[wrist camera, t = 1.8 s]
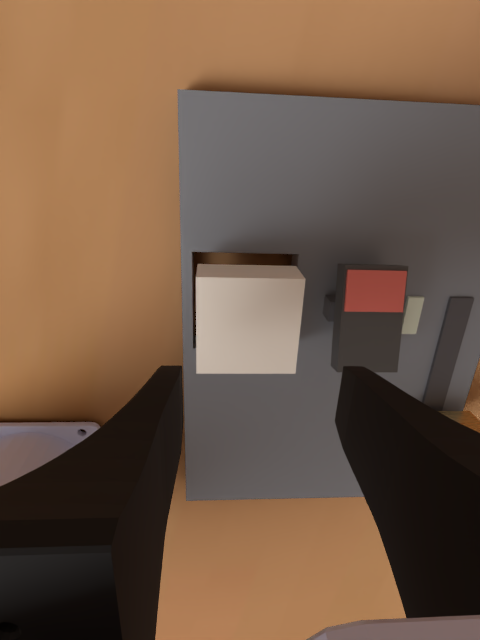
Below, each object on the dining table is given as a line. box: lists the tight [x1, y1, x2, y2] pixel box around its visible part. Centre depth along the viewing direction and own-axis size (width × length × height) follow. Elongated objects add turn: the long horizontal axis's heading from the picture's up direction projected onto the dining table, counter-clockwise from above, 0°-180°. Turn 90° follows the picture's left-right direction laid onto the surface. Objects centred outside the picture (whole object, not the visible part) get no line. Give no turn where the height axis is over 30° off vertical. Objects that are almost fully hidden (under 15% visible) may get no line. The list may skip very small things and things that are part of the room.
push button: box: [196, 264, 306, 374], centre depth 17 cm, size 4×4×2 cm
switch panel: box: [178, 89, 480, 501], centre depth 21 cm, size 16×22×2 cm
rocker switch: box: [331, 264, 409, 372], centre depth 18 cm, size 3×5×1 cm, turn 178°
